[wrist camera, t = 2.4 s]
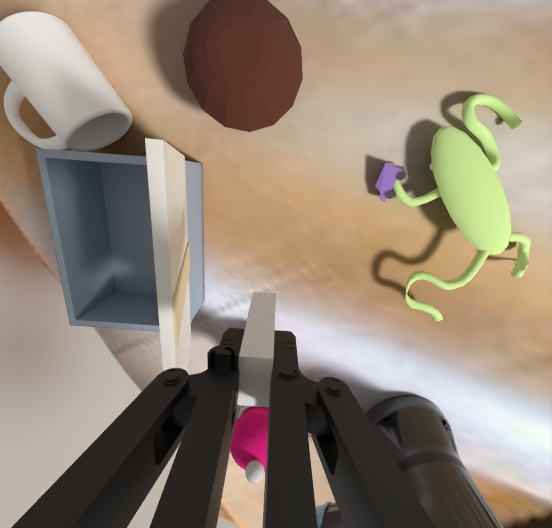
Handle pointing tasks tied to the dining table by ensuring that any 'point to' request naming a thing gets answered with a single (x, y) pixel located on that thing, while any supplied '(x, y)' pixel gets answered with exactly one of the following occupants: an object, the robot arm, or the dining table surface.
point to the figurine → (465, 193)
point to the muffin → (243, 63)
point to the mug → (58, 85)
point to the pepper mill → (251, 441)
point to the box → (113, 236)
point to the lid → (170, 250)
